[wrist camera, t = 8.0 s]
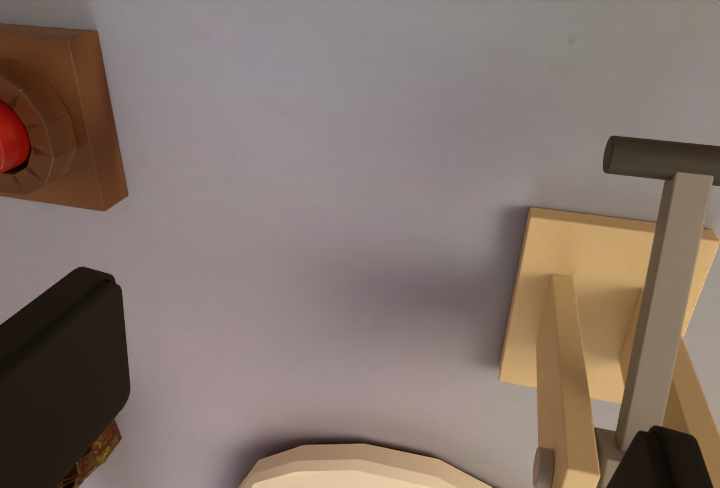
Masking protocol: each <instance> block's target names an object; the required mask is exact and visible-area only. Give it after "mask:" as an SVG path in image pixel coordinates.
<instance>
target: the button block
mask: <svg viewBox="0 0 720 488" xmlns="http://www.w3.org/2000/svg"><path fill="white" fill-rule="evenodd" d="M0 101H2V102H4V103H5V104H7V105H8V106H9V107H11V108H12V109H13V110H14V112H15V113H16V114H17V116H18V117H19V118H20V120H21V121H22V122H23V124H24V125H25V127H26V129H27V133H28V137H29V140H30V152H29V155H28V157H27V159H26V160H25V161H24V162H23V163H22V164H20V165H18V166H16V167H14V168H12V169H10V170H8V171H6V172H3V173H1V174H0V196H4V197H11V198H18V199H24V200H31V201H38V202H44V203H51V204H58V205H64V206H71V207H78V208H85V209H91V210H98V211H106V210H108V209H109V208H111V207H112V206H114V205H115V204H117V203H118V202H119V201H121V200H122V199H124V198H125V197H127V196H128V192H127V186H126V181H125V176H124V171H123V165H122V160H121V155H120V149H119V144H118V139H117V133H116V128H115V123H114V118H113V112H112V107H111V102H110V96H109V91H108V86H107V80H106V75H105V70H104V64H103V59H102V54H101V49H100V43H99V38H98V33H97V31H90V30H77V29H64V28H51V27H38V26H25V25H13V24H0Z"/></svg>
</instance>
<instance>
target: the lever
mask: <svg viewBox="0 0 720 488" xmlns="http://www.w3.org/2000/svg"><path fill="white" fill-rule="evenodd" d="M603 171H604V172H605V173H607V174H616V175H625V176H634V177H643V178H652V179H661V180H665V183H664V188H663V193H662V198H661V203H660V209H659V214H658V219H657V224H656V229H655V234H654V239H653V244H652V250H651V255H650V260H649V265H648V270H647V275H646V280H645V285H644V291H643V296H642V301H641V306H640V311H639V316H638V321H637V326H636V332H635V337H634V342H633V347H632V352H631V357H630V362H629V368H628V373H627V378H626V383H625V388H624V393H623V398H622V403H621V409H620V414H619V419H618V424H617V429H616V431H611V430H606V429H601V428H594V432H595V439H596V447H597V454H598V462H599V469H600V479H599V481H598V484H597V487H596V488H606V487H607V485H608V483H609V481H610V479H611V478H612V476H613V474H614V472H615V470H616V469H617V467H618V465H619V463H620V462H621V460H622V458H623V456H624V454H625V453H626V451H627V449H628V447H629V445H630V444H631V442H632V440H633V438H634V436H635V435H636V433H637V432H638V431H640V430H641V431H646V432H648V431H649V429H650V428H651V427H652V426H654V425H658V426H661V427H662V424H663V419H664V414H665V409H666V405H667V400H668V395H669V390H670V385H671V380H672V376H673V371H674V366H675V361H676V356H677V352H678V347H679V342H680V337H681V332H682V328H683V323H684V318H685V313H686V308H687V304H688V299H689V294H690V289H691V284H692V279H693V275H694V270H695V265H696V260H697V255H698V251H699V246H700V241H701V236H702V231H703V227H704V222H705V217H706V212H707V207H708V203H709V198H710V193H711V188H712V185H715V186H720V146H712V145H702V144H692V143H682V142H672V141H662V140H652V139H642V138H631V137H621V136H611V137H610V138H609V140H608V142H607V144H606V148H605V152H604V158H603Z"/></svg>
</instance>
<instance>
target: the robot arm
mask: <svg viewBox="0 0 720 488" xmlns="http://www.w3.org/2000/svg"><path fill="white" fill-rule="evenodd" d="M129 394H130V378H129V367H128V356H127V344H126V333H125V321H124V310H123V298H122V290H121V287H120V286H119V285H118V284H116V282H115V278H114V277H113V276H112V275H111V274H108V273H104V272H101V271H97V270H94V269H90V268H86V267H78V268H76V269H75V270H73V271H72V272H70V273H69V274H68V275H66V276H65V277H64V278H62V279H61V280H60V281H58V282H57V283H56V284H54V285H53V286H52V287H50V288H49V289H48V290H46V291H45V292H44V293H42V294H41V295H40V296H38V297H37V298H36V299H34V300H33V301H32V302H30V303H29V304H28V305H26V306H25V307H24V308H22V309H21V310H20V311H18V312H17V313H16V314H14V315H13V316H12V317H10V318H9V319H8V320H6V321H5V322H4V323H2V324H1V325H0V488H56V487H57V486H58V484H59V483H60V482H61V481H62V480H63V479H64V477H65V476H66V475H67V474H68V473H69V471H70V470H71V469H72V468H73V467H74V465H75V464H76V463H77V462H78V461H79V460H80V458H81V457H82V456H83V455H84V454H85V452H86V451H87V450H88V449H89V448H90V446H91V445H92V444H93V443H94V442H95V441H96V439H97V438H98V437H99V436H100V435H101V433H102V432H103V431H104V430H105V429H106V427H107V426H108V425H109V424H110V423H111V422H112V420H113V419H114V418H115V417H116V416H117V414H118V413H119V412H120V411H121V410H122V408H123V407H124V406H125V404H126V402H127V400H128V397H129ZM606 488H714V487H713V484H712V482H711V479H710V476H709V473H708V470H707V467H706V464H705V461H704V458H703V455H702V452H701V450H700V447H699V444H698V442H697V440H696V438H695V437H694V436H693V435H690V434H687V433H683V432H679V431H676V430H672V429H669V428H665V427H661V426H658V425H654V426H652V427H651V428H650V429H649V431H648V432H646V431H641V430H640V431H638V432H637V433H636V435H635V436H634V438H633V440H632V442H631V444H630V445H629V447H628V449H627V451H626V453H625V454H624V456H623V458H622V460H621V462H620V463H619V465H618V467H617V469H616V470H615V472H614V474H613V476H612V478H611V479H610V481H609V483H608V485H607V487H606Z"/></svg>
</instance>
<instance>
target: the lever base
mask: <svg viewBox="0 0 720 488" xmlns="http://www.w3.org/2000/svg"><path fill="white" fill-rule="evenodd" d="M656 224H657V223H654V222H646V221H638V220H630V219H622V218H614V217H607V216H599V215H591V214H583V213H575V212H567V211H559V210H551V209H543V208H535V207H530V208H529V213H528V218H527V223H526V228H525V234H524V239H523V244H522V250H521V255H520V260H519V265H518V271H517V276H516V281H515V286H514V292H513V297H512V302H511V307H510V313H509V318H508V323H507V328H506V334H505V339H504V344H503V350H502V355H501V360H500V365H499V381H503V382H508V383H513V384H519V385H524V386H529V387H535V388H537V409H538V448H537V450H536V454H535V459H534V467H533V486H534V488H596V487H597V484H598V481H599V479H600V469H599V462H598V454H597V447H596V439H595V432H594V425H593V417H592V410H591V403H590V398H593V399H599V400H604V401H609V402H614V403H620V404H621V403H622V398H623V393H624V388H625V383H626V378H627V373H628V368H629V362H630V357H631V352H632V347H633V342H634V337H635V332H636V326H637V321H638V316H639V311H640V306H641V301H642V296H643V291H644V285H645V280H646V275H647V270H648V265H649V260H650V255H651V250H652V244H653V239H654V234H655V229H656ZM719 243H720V241H719V239H718V238H717V236H716V234H715V233H714V231H713V230H710V229H703V231H702V236H701V241H700V246H699V251H698V255H697V260H696V265H695V270H694V275H693V279H692V284H691V289H690V294H689V299H688V304H687V308H686V313H685V318H684V323H683V328H682V332H681V337H680V342H679V347H678V352H677V356H676V361H675V366H674V371H673V376H672V380H671V385H670V390H669V395H668V400H667V405H666V409H665V414H664V419H663V424H662V427H665V428H669V429H672V430H676V431H679V432H683V433H687V434H690V435H693V436H694V437H695V438H696V440H697V442H698V444H699V447H700V450H701V452H702V455H703V458H704V461H705V464H706V467H707V470H708V473H709V476H710V479H711V482H712V484H713V487H714V488H720V435H719V432H718V430H717V427H716V425H715V422H714V419H713V417H712V414H711V412H710V409H709V406H708V404H707V401H706V398H705V396H704V393H703V391H702V388H701V385H700V383H699V380H698V377H697V375H696V372H695V370H694V367H693V364H692V362H691V359H690V356H689V354H688V351H687V349H686V346H685V343H684V341H683V337H684V335H685V332H686V330H687V327H688V324H689V322H690V319H691V317H692V314H693V311H694V309H695V306H696V304H697V301H698V298H699V296H700V293H701V290H702V288H703V285H704V283H705V280H706V277H707V275H708V272H709V270H710V267H711V264H712V262H713V259H714V257H715V254H716V251H717V249H718V246H719Z"/></svg>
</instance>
